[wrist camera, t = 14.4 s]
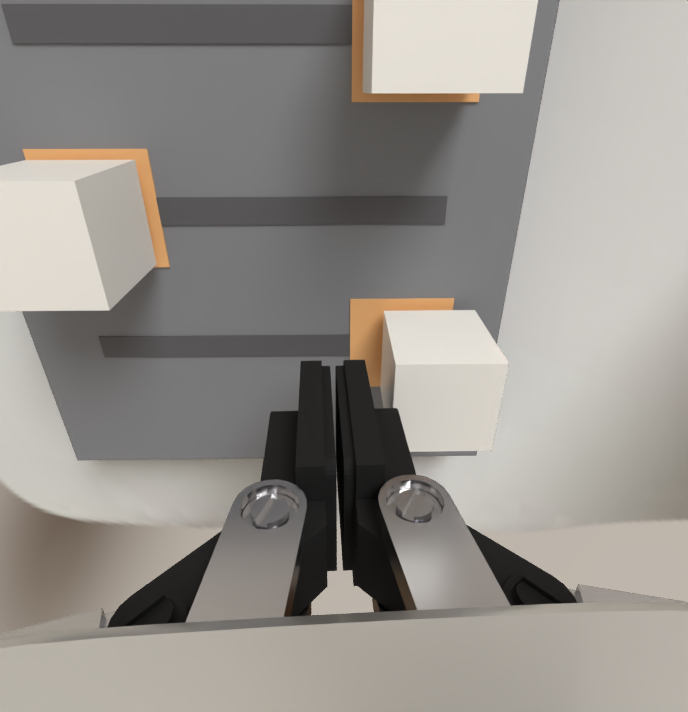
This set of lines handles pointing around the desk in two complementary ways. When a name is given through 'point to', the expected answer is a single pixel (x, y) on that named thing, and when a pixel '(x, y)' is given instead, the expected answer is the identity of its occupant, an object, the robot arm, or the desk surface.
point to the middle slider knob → (71, 234)
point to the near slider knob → (447, 45)
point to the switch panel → (256, 206)
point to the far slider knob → (442, 378)
